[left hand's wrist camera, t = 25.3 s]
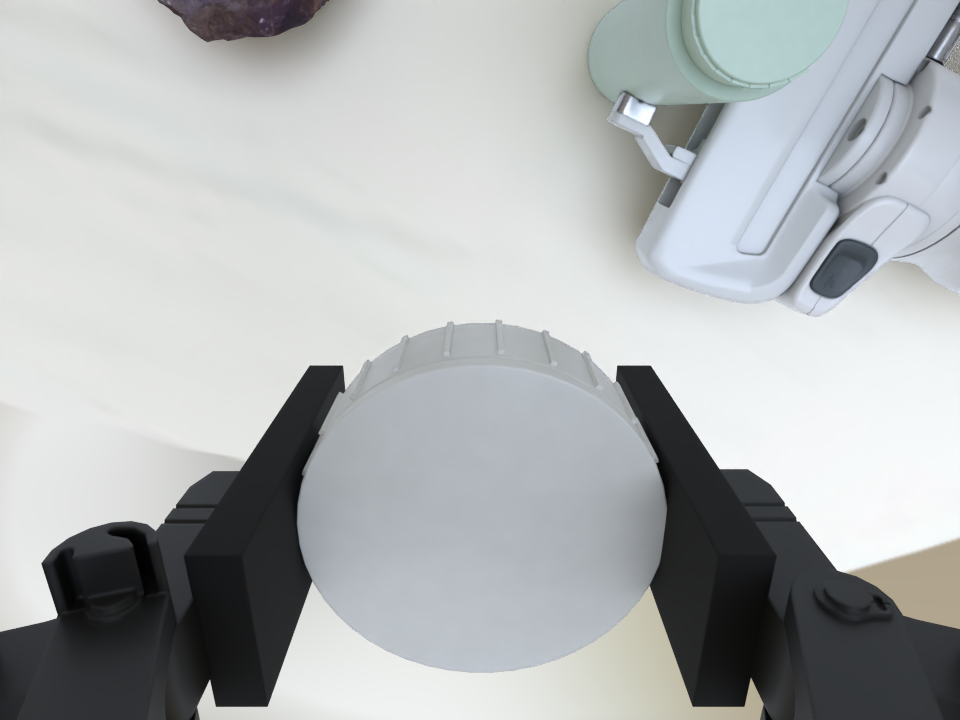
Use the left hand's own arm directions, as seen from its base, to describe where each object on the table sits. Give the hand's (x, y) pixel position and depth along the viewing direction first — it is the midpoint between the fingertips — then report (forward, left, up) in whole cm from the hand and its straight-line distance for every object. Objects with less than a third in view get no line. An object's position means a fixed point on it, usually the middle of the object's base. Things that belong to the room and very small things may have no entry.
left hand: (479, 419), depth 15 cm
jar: (+10, +8, -27) cm, 30 cm away
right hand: (+9, +9, -21) cm, 25 cm away
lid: (0, 0, +4) cm, 4 cm away
